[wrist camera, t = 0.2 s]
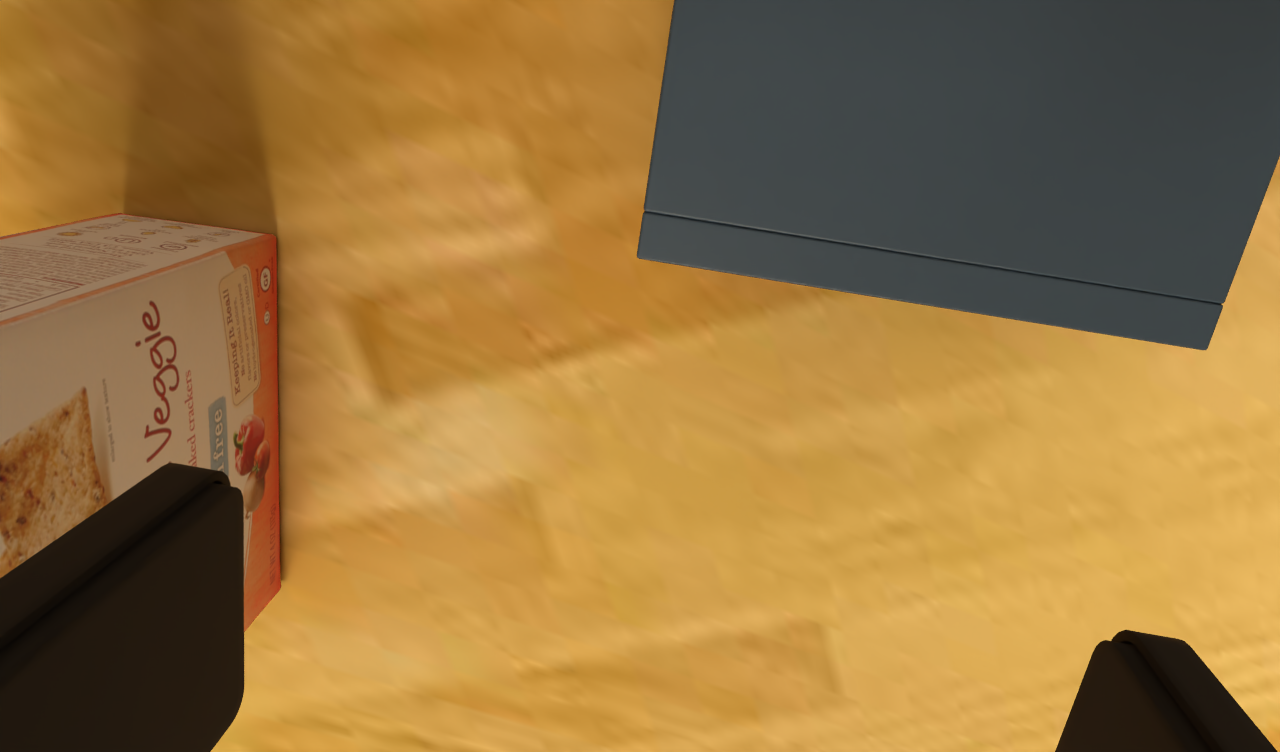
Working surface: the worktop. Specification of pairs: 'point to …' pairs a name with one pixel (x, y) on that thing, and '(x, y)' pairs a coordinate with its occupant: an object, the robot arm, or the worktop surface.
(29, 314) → the cracker box
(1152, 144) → the grey open box
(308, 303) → the worktop surface
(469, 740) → the worktop surface
